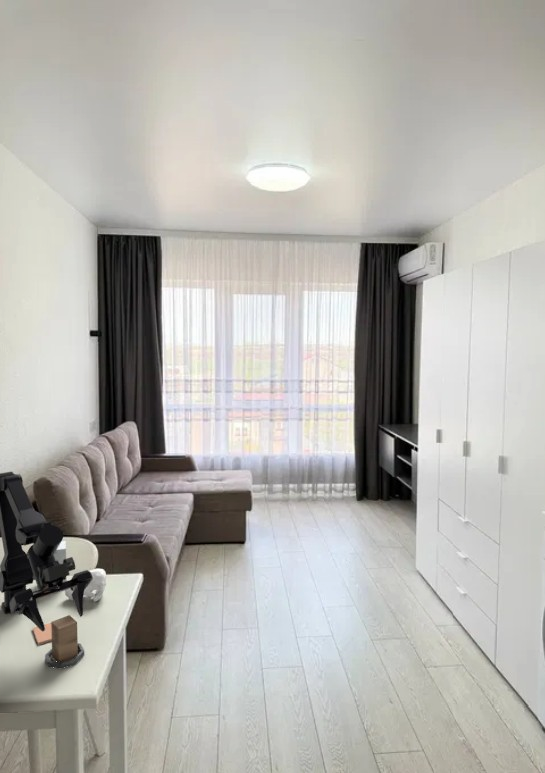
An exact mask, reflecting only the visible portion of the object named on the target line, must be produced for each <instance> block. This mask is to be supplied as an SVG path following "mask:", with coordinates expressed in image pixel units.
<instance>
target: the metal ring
mask: <svg viewBox="0 0 545 773" xmlns="http://www.w3.org/2000/svg"><path fill="white" fill-rule="evenodd" d="M78 652H79V653H78V655H77V656H76V657H75V658H73V659H70V660H67V661H64V662H56V661H55V660H51V658H52V648H50V650H49V651H48V652H47V653H45V656H44V660H45V662H46V665H47V668H52V669H59V668H62V669H65V668H68V667H71V666H75V665H77V664H76V663H77V662H78V661H79V662H80V661H81V659H82V658H83V657H84V656H85V649H84V647H83V645H82V643H80V642H78ZM79 662H78V663H79ZM70 665H71V666H70ZM67 666H68V667H67ZM53 667H54V668H53ZM64 667H65V668H64Z"/></svg>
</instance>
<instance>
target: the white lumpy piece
mask: <svg viewBox="0 0 545 773" xmlns="http://www.w3.org/2000/svg"><path fill="white" fill-rule="evenodd" d="M88 571H89V572H91V574H92V577H93V579H92V580H91V582H90V583H89V585H88V586H87V587H86V589H85V590H84V595H83V596H85V597H88V598H93V602H97V601H98V600H100V599H101V597H102V596H103V594H104V591H105V588H106V586H107V581H106V580H107V574H106V571H105V569H103V568H94V569H90V570H88ZM93 591H95V593H94V592H93ZM72 593H73V591H72V590H71V588H69V589H66V590H64V596H66V598H68V599H69V600H70V599H71V601H73V602H74V600H73V597H72Z"/></svg>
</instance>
